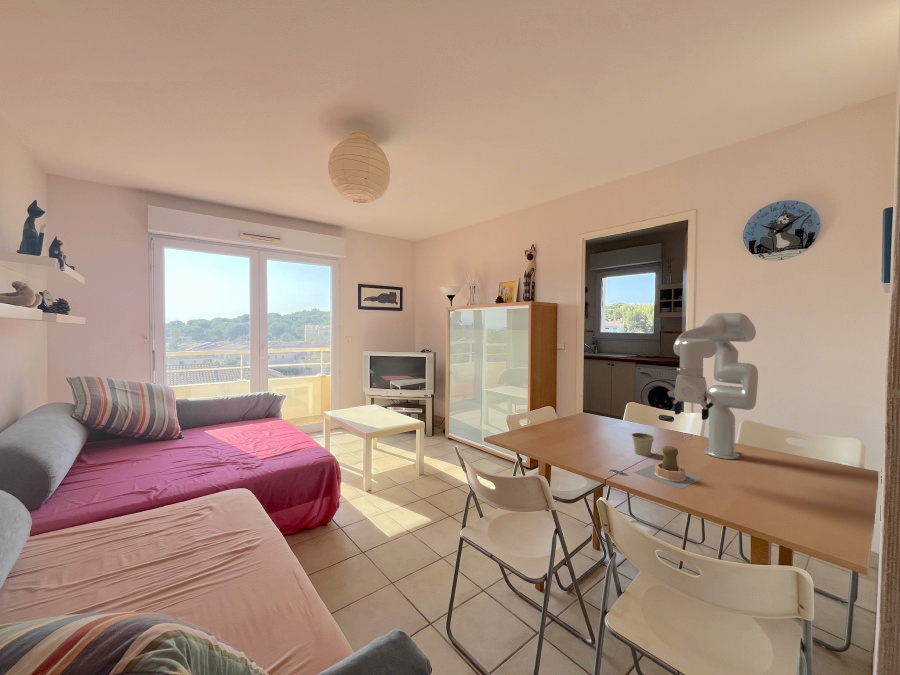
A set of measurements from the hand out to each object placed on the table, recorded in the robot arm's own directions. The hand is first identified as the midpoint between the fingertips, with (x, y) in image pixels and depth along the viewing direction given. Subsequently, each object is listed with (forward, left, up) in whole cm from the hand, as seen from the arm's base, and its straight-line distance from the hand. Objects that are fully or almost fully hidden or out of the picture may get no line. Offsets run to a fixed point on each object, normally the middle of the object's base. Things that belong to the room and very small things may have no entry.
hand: (691, 416), depth 144 cm
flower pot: (-10, -24, -24) cm, 36 cm away
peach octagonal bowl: (+6, -4, -24) cm, 25 cm away
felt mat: (+6, -5, -24) cm, 25 cm away
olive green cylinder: (+6, -4, -23) cm, 24 cm away
